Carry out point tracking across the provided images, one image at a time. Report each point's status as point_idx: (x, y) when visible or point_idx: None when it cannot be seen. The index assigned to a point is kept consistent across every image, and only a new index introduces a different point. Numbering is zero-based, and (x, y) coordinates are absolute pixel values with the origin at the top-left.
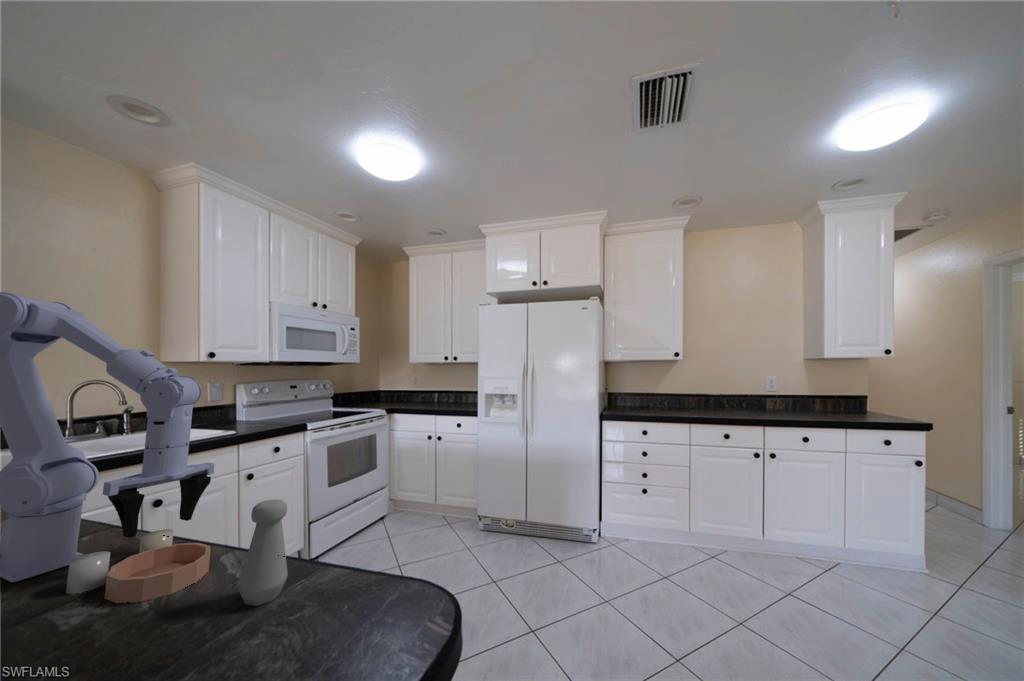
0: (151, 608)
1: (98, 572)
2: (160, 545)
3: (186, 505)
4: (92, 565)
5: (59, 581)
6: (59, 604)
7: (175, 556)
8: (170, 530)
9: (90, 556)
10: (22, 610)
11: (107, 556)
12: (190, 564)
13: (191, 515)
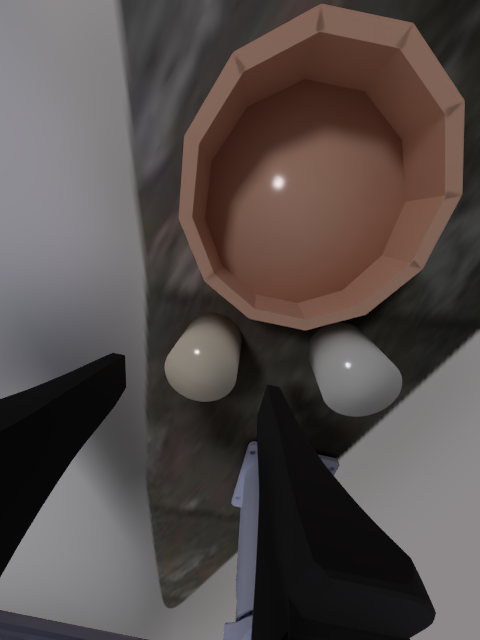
0: (451, 47)
1: (358, 338)
2: (217, 333)
3: (86, 405)
4: (381, 354)
5: (323, 408)
6: (406, 325)
7: (221, 268)
8: (169, 365)
9: (352, 395)
10: (423, 363)
11: (351, 357)
12: (341, 20)
13: (103, 357)
